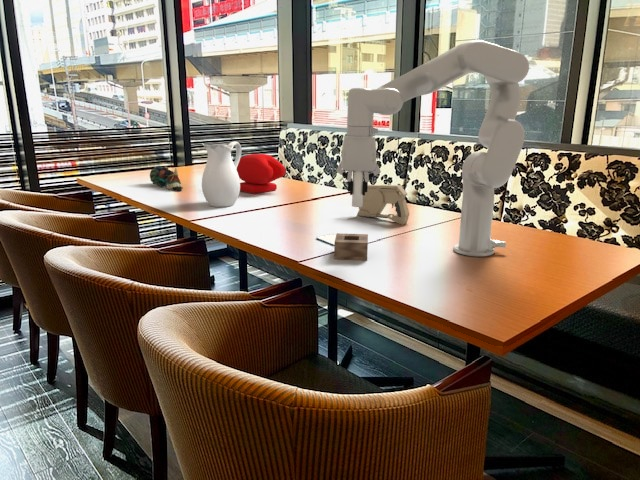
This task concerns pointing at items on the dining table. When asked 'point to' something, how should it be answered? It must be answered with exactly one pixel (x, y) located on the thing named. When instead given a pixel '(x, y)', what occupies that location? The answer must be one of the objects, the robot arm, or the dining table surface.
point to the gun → (385, 202)
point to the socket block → (351, 246)
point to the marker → (357, 189)
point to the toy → (259, 173)
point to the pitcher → (221, 175)
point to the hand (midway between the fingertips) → (357, 193)
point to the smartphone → (328, 239)
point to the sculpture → (166, 178)
